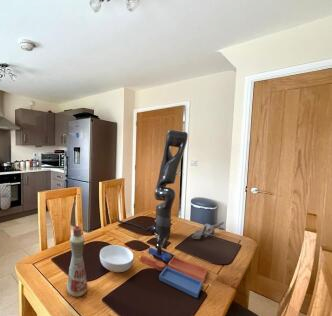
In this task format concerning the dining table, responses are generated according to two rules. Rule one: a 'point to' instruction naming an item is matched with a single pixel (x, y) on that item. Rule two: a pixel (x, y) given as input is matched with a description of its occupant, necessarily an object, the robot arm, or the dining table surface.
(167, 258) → the blue spoon
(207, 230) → the spaceship
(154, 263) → the terracotta spoon
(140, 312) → the dining table surface
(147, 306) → the dining table surface
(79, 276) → the bottle
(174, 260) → the terracotta tray
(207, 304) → the dining table surface
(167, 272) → the blue tray
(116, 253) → the cereal bowl
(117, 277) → the dining table surface
